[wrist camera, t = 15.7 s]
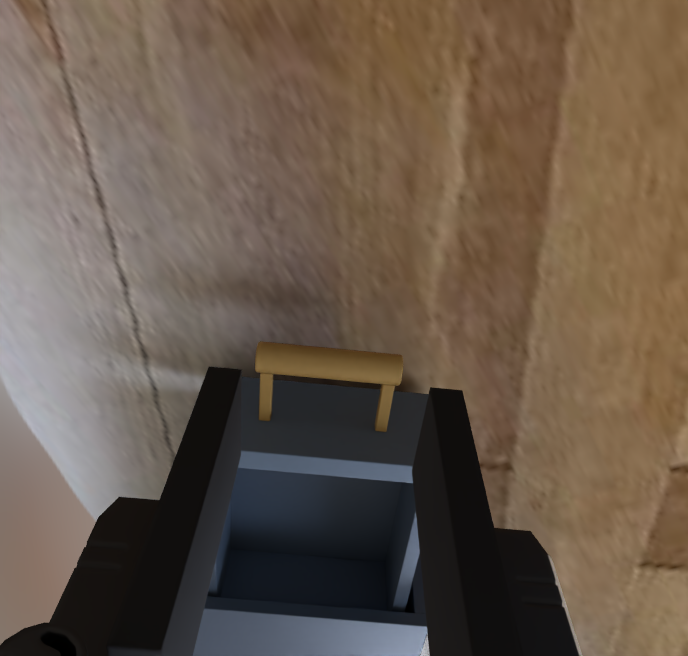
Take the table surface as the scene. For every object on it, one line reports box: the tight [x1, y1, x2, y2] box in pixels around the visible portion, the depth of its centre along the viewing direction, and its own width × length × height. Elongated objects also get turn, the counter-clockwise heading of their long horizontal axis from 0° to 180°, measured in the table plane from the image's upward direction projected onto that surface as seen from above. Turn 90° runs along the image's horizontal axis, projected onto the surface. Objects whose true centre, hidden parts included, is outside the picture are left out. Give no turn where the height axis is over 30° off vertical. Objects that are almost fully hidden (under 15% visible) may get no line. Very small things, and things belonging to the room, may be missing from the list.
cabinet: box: [193, 554, 428, 656], centre depth 42 cm, size 16×15×8 cm
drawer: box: [207, 341, 429, 612], centre depth 34 cm, size 19×13×6 cm
